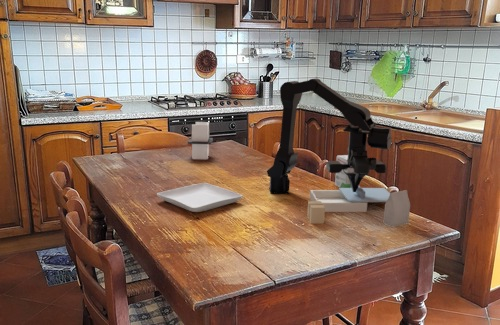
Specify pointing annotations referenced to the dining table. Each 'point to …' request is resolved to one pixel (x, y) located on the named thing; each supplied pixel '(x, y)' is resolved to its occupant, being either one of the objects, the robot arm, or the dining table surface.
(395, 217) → the grey tapered upright block
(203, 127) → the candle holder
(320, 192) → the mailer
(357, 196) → the lid
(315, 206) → the block
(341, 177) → the ink box
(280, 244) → the dining table surface
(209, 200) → the salad plate
